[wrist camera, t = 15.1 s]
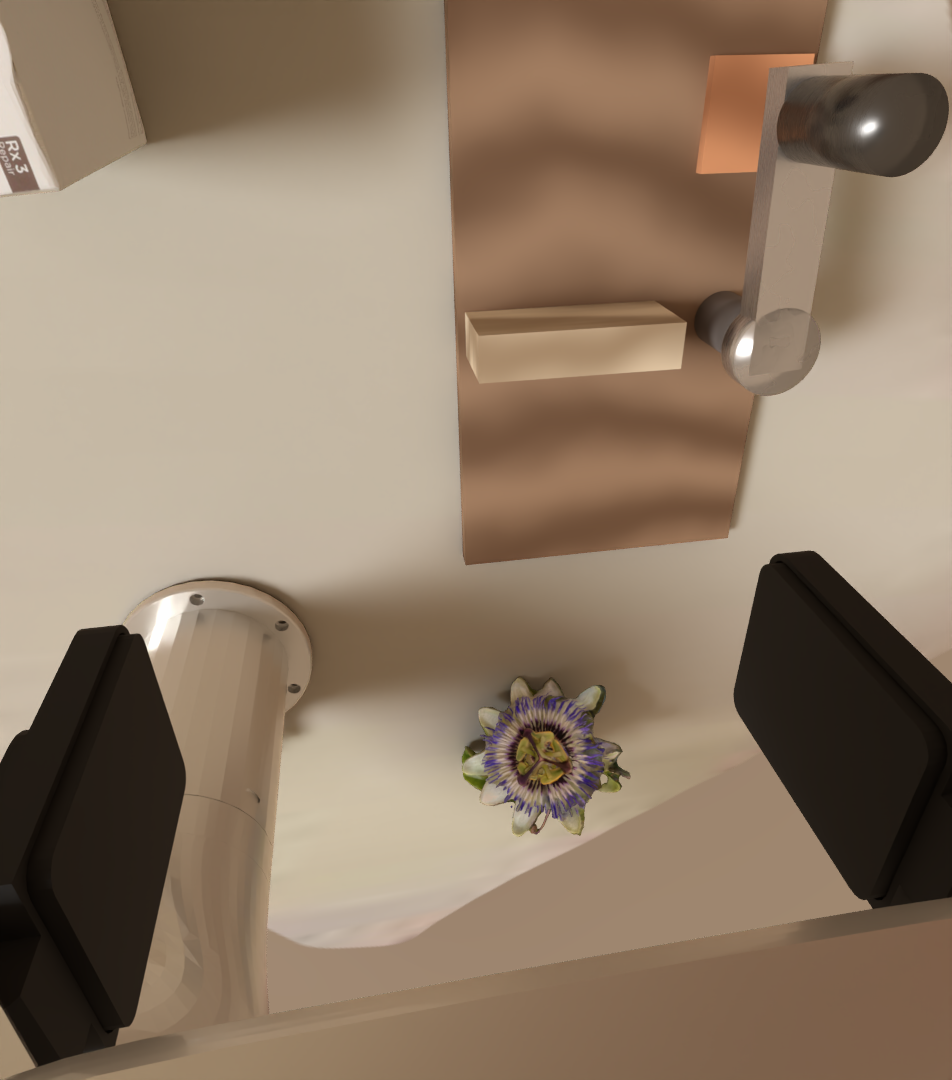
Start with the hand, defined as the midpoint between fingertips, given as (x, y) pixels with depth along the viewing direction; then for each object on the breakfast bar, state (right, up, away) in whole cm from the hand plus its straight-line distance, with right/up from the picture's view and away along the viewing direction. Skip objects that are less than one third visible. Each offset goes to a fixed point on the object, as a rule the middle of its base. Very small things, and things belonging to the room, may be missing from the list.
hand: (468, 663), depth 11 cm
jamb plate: (+8, +15, +31) cm, 35 cm away
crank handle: (+14, +16, +24) cm, 32 cm away
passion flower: (+4, -12, +47) cm, 49 cm away
